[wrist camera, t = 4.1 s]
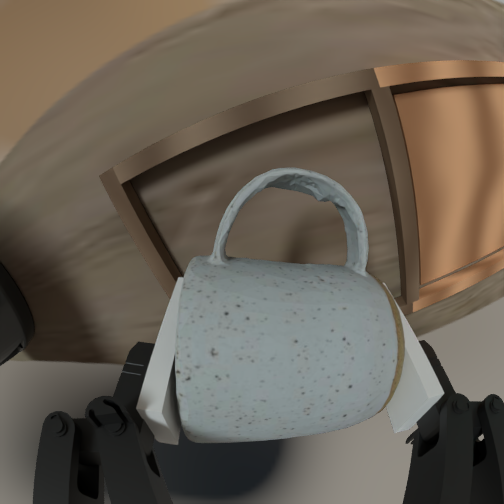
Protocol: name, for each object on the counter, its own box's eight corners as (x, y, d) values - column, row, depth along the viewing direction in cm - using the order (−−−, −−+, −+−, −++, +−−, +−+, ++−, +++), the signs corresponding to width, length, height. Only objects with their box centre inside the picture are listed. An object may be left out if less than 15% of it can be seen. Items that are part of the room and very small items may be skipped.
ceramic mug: (336, 344, 16) (366, 453, 9) (203, 343, 16) (187, 462, 9) (380, 173, 11) (503, 256, 4) (193, 159, 11) (108, 242, 4)
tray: (221, 358, 24) (220, 368, 23) (107, 171, 16) (98, 176, 15) (528, 243, 17) (534, 248, 16) (519, 64, 9) (528, 65, 8)
